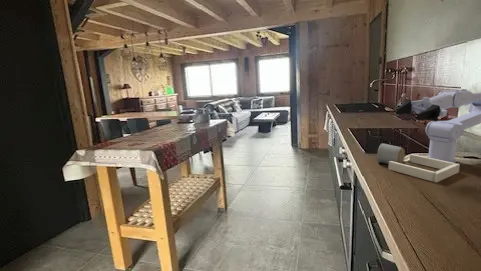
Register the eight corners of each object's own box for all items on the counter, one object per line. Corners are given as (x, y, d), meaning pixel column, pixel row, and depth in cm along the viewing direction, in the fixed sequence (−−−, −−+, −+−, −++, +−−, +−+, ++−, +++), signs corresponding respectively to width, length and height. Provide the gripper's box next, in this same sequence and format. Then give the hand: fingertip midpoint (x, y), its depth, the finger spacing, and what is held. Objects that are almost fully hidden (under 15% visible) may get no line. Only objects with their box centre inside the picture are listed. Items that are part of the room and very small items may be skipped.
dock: (411, 161, 105) (411, 154, 105) (458, 172, 92) (459, 164, 91) (388, 169, 98) (388, 161, 97) (436, 182, 85) (437, 173, 84)
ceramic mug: (399, 168, 99) (401, 148, 97) (375, 164, 104) (377, 145, 103) (406, 161, 106) (408, 143, 104) (384, 157, 112) (386, 140, 110)
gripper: (415, 90, 100) (389, 99, 96) (457, 98, 88) (430, 108, 84) (413, 108, 103) (388, 117, 99) (453, 118, 91) (426, 128, 87)
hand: (407, 114), depth 92 cm, fingers open, 7 cm apart
